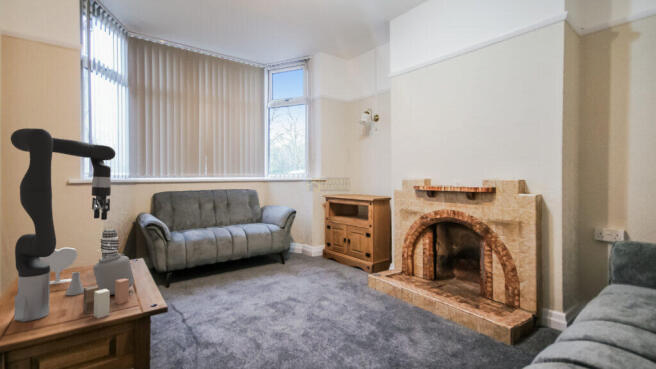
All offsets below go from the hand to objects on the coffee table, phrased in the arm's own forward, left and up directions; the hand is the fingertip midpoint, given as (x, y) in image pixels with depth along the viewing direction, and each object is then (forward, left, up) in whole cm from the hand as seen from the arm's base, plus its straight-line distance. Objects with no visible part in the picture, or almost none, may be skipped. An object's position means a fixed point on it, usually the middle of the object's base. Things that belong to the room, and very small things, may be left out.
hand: (100, 219), depth 151 cm
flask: (-5, +9, -37) cm, 38 cm away
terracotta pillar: (-4, -21, -36) cm, 42 cm away
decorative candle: (+28, +33, -36) cm, 56 cm away
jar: (+2, -6, -36) cm, 37 cm away
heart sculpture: (+2, +35, -36) cm, 50 cm away
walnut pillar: (-16, -19, -36) cm, 44 cm away
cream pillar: (-17, -27, -36) cm, 49 cm away
